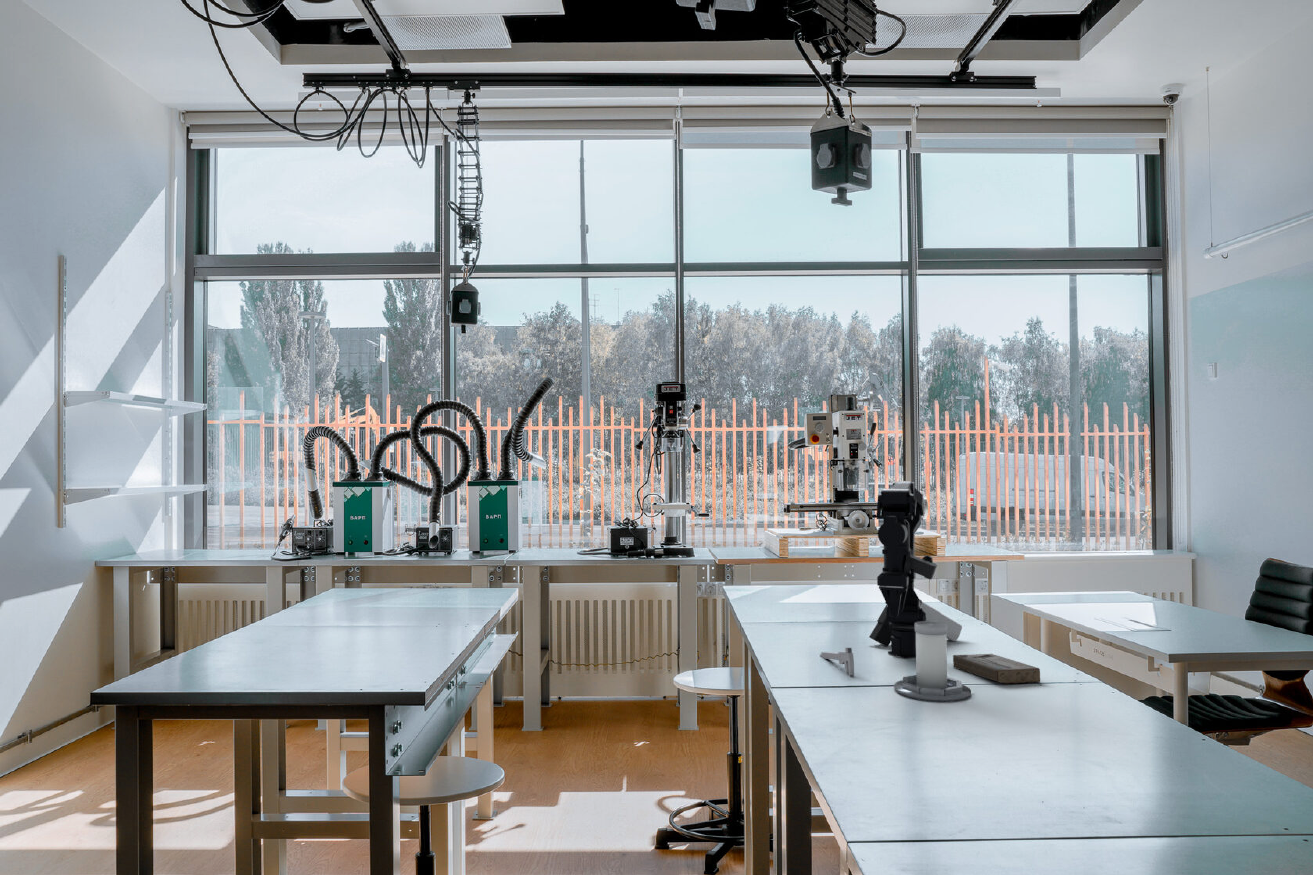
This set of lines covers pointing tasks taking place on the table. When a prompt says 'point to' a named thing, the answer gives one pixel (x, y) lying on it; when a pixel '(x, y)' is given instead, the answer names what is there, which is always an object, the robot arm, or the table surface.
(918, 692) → the collar
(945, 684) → the capped white cylinder
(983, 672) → the box
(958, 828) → the table surface
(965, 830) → the table surface
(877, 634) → the handheld device
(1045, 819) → the table surface
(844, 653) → the caliper
